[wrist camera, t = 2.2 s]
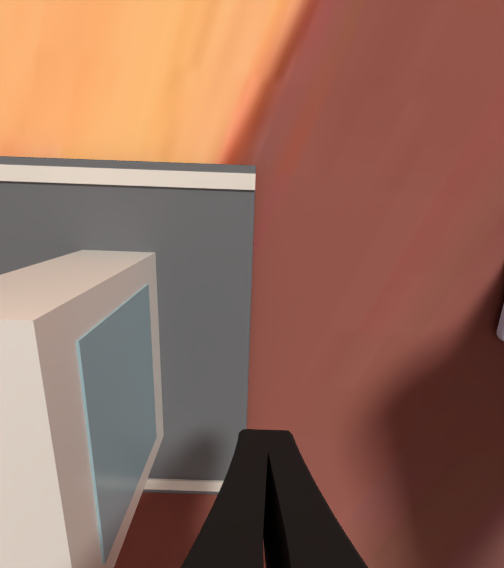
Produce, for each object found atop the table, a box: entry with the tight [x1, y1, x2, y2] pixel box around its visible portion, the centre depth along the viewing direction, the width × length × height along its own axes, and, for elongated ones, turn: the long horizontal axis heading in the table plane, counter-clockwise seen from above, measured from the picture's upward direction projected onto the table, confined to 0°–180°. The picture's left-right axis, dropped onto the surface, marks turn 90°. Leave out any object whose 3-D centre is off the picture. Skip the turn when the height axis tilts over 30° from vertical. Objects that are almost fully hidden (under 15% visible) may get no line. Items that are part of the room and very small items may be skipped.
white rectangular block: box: [0, 250, 164, 568], centre depth 11 cm, size 3×9×8 cm, turn 178°
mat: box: [0, 156, 256, 495], centre depth 14 cm, size 20×16×1 cm
